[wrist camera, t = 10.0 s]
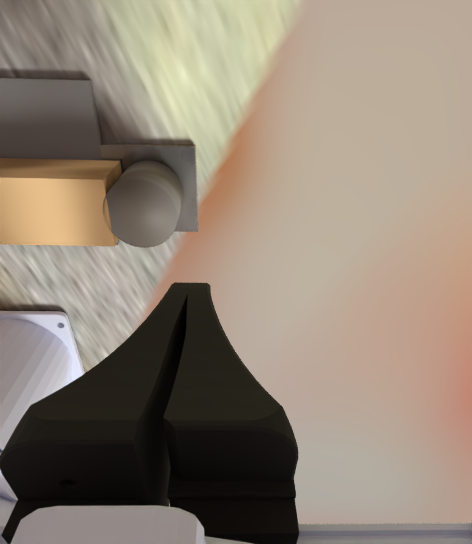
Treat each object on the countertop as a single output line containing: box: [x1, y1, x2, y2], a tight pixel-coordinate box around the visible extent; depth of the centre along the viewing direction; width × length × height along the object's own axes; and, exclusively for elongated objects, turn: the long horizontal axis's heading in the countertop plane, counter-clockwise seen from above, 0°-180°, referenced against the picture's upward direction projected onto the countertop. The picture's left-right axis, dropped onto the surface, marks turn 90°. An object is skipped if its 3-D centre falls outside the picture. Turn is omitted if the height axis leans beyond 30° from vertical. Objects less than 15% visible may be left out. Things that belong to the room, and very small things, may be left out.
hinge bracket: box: [100, 143, 198, 232], centre depth 20 cm, size 5×5×1 cm
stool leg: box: [0, 158, 184, 248], centre depth 18 cm, size 16×4×3 cm, turn 88°
